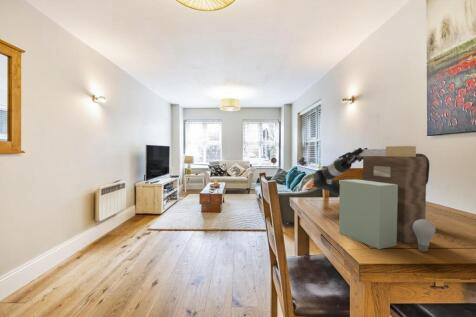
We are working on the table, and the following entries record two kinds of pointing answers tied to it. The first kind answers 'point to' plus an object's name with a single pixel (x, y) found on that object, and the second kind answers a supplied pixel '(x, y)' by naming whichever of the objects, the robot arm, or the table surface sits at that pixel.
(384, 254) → the table surface
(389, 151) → the shaft
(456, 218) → the table surface
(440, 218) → the table surface
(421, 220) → the lightbulb
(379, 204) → the sage green carton
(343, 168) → the robot arm
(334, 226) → the table surface
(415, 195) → the parts stand
